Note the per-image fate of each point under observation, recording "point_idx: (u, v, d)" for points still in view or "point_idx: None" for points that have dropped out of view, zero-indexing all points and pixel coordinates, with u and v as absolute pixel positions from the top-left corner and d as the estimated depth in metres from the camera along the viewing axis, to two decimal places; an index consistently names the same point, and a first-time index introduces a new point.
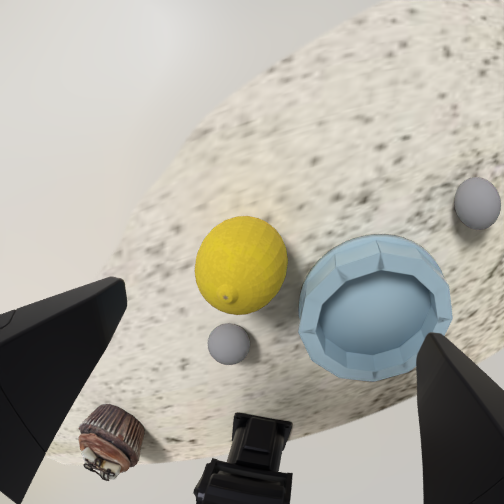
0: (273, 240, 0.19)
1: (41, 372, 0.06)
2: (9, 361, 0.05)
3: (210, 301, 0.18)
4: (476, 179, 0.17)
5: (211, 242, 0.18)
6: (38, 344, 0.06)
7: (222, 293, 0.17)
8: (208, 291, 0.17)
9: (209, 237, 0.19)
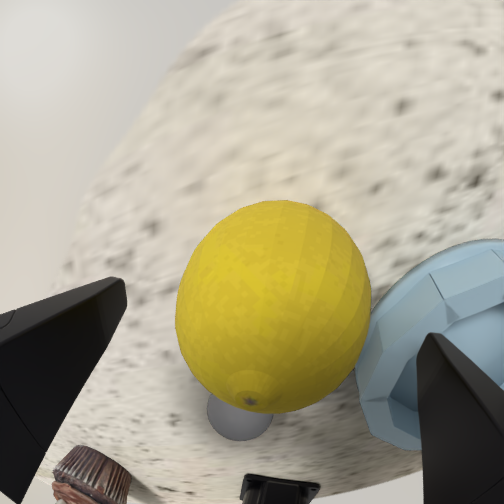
0: (353, 253, 0.08)
1: (41, 372, 0.06)
2: (9, 361, 0.05)
3: (211, 392, 0.07)
4: None
5: (212, 258, 0.07)
6: (38, 344, 0.06)
7: (242, 393, 0.06)
8: (207, 377, 0.07)
9: (207, 245, 0.08)
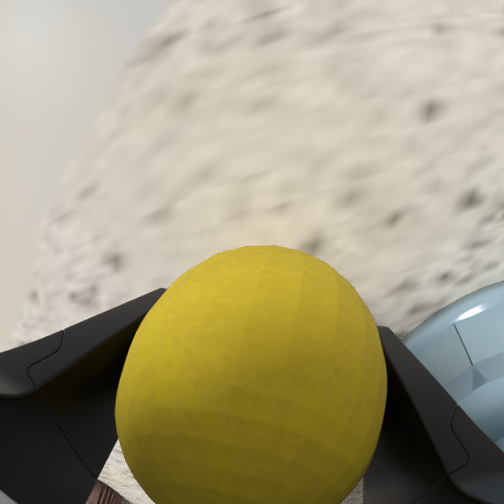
0: (367, 338, 0.05)
1: (97, 398, 0.06)
2: (66, 392, 0.05)
3: None
4: None
5: (151, 358, 0.04)
6: (96, 369, 0.06)
7: None
8: None
9: (150, 328, 0.05)
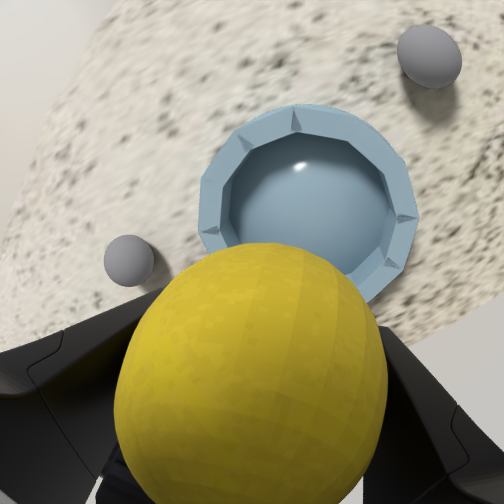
0: (367, 335, 0.05)
1: (97, 398, 0.06)
2: (66, 392, 0.05)
3: None
4: (420, 25, 0.11)
5: (150, 355, 0.04)
6: (96, 369, 0.06)
7: None
8: (155, 502, 0.04)
9: (149, 325, 0.05)
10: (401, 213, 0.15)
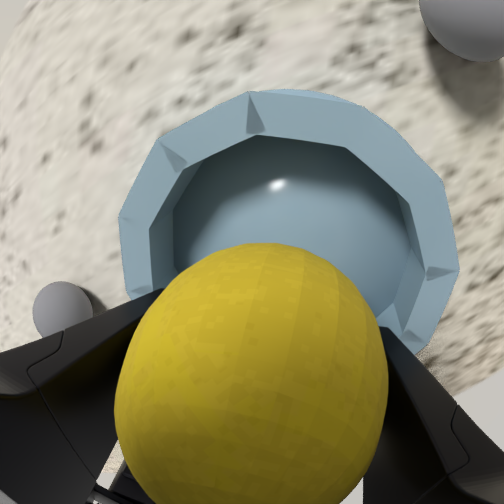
0: (369, 335, 0.05)
1: (97, 398, 0.06)
2: (66, 392, 0.05)
3: None
4: None
5: (151, 355, 0.04)
6: (96, 369, 0.06)
7: None
8: None
9: (149, 325, 0.05)
10: (433, 265, 0.09)
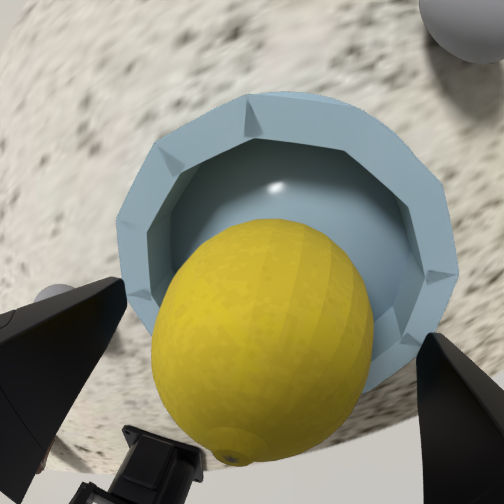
0: (355, 284, 0.07)
1: (41, 372, 0.06)
2: (9, 361, 0.05)
3: None
4: None
5: (189, 294, 0.06)
6: (38, 344, 0.06)
7: (222, 451, 0.05)
8: (184, 427, 0.06)
9: (185, 275, 0.07)
10: (432, 269, 0.09)
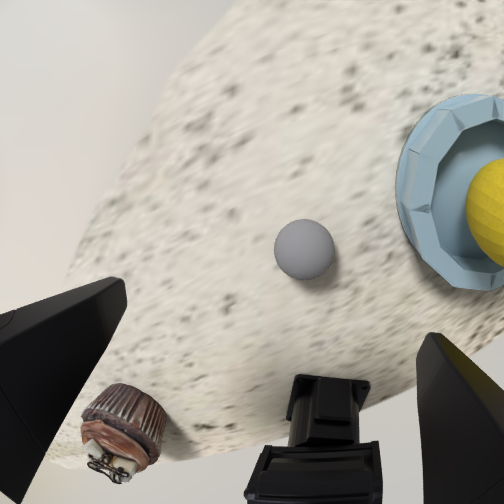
0: None
1: (41, 372, 0.06)
2: (9, 361, 0.05)
3: None
4: None
5: None
6: (38, 344, 0.06)
7: None
8: None
9: None
10: None
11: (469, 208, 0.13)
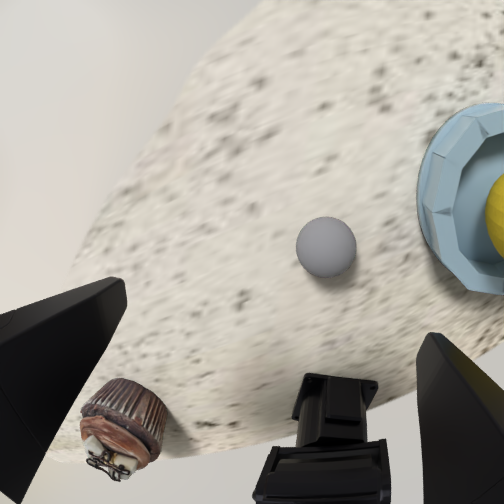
0: None
1: (41, 372, 0.06)
2: (9, 361, 0.05)
3: None
4: None
5: None
6: (38, 344, 0.06)
7: None
8: None
9: None
10: None
11: (490, 213, 0.13)
